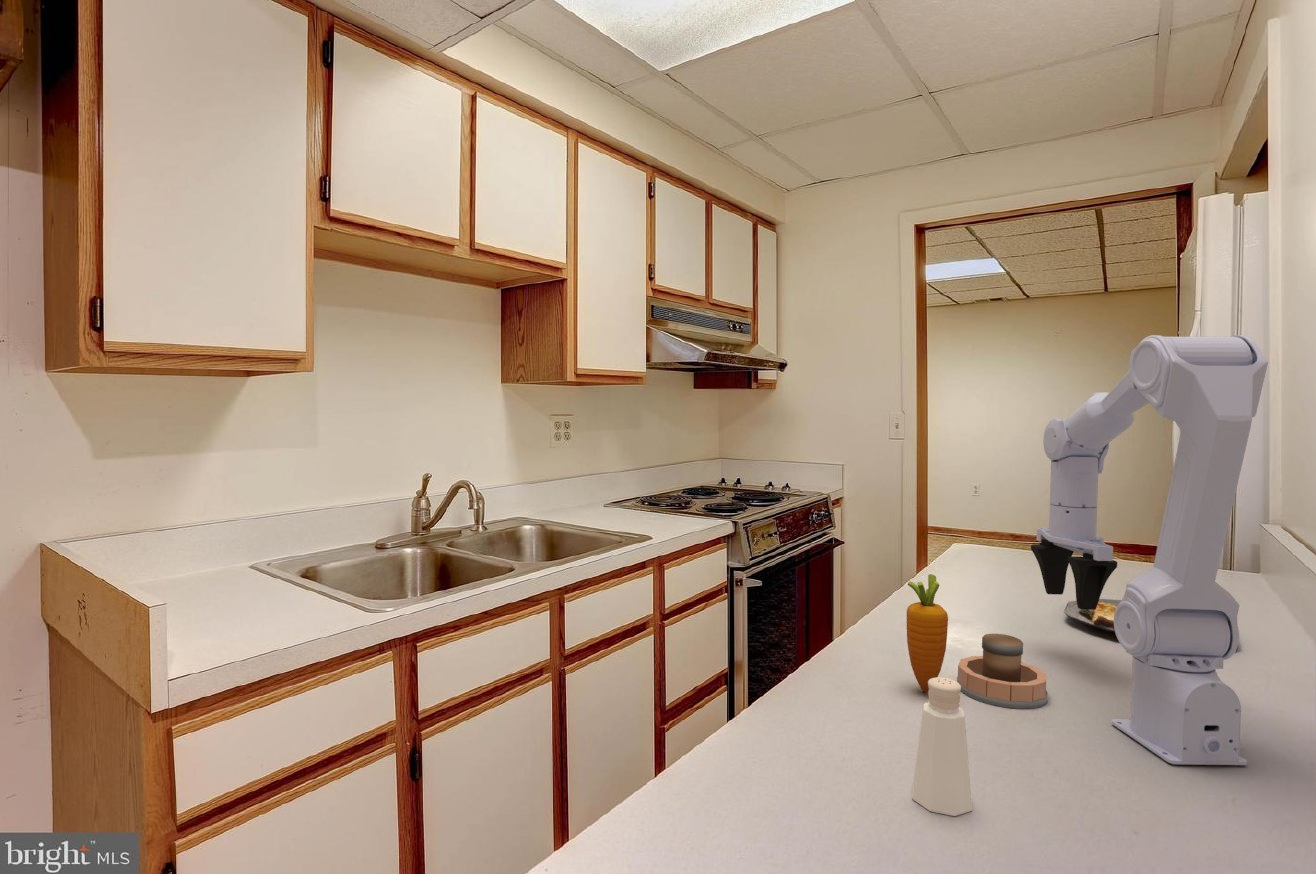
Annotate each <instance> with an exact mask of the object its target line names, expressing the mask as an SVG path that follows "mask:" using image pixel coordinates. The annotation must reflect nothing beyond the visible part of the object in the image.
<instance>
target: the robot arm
mask: <svg viewBox="0 0 1316 874" xmlns="http://www.w3.org/2000/svg"><path fill="white" fill-rule="evenodd" d="M1130 353H1131V354H1130V357H1129V361H1128V362H1129V363H1128V370H1127V372H1126V373H1125V374H1124V376H1123V377H1122V378H1121V379H1120V380H1119V381H1118V382H1117V384H1115V385H1114V387H1112V389H1111V390H1110V391H1109V392H1107V391H1106V392H1105V391H1104V392H1093V393H1092V394H1091V395H1090V396H1089V398H1087V400H1086V401H1085V402H1084V403H1083V404H1082V405H1081V406H1079V407H1078V408H1077V409H1076V410H1075V411H1074V412H1073V413H1072V414H1071V415H1069V417H1067V418H1065V419H1064V418H1062V419H1061V418H1051V419H1050V421H1049V422H1048V423H1047V424H1046V426H1045V428H1044V432H1043V437H1042V440H1043V444H1042V445H1043V450H1044V452H1045V456H1046V457H1047V458H1048V459H1049V460H1050V486H1049V489H1050V490H1049V517H1048V518H1049V519H1048V520H1049V521H1048V527H1037V528H1036V541H1038V542H1039V544H1031V545H1030V550H1031V552H1032V553H1033V555H1034V557H1035V558H1036V561H1037V563H1038V566H1039V569H1040V573H1041V577H1042V582H1043V586H1044V589H1045V593H1046V594H1047V595H1060V596H1061V595H1063V594H1064V591H1065V587H1066V580H1067V579H1066V577H1067V574H1068V573H1067V572H1068V567H1069V566H1070V568H1071V571H1072V575H1073V579H1074V586H1075V587H1074V588H1075V601H1077V606H1078V608H1079V609H1086V610H1095V609H1096V607H1097V604H1098V601H1099V599H1101V595H1102V593H1103V590H1104V588H1105V585H1106V583H1107V581H1108V580H1109V578H1110V577H1111V575H1112V574H1113V573H1114V571H1115V570H1116V569H1117V568H1118V561H1117V560H1114V559H1113V558H1114V546H1113V545H1110V544H1106V543H1105V542H1104V539H1105V538H1104V537H1102V536H1099V535H1097V523H1098V522H1097V521H1098V497H1099V496H1098V495H1099V493H1098V492H1099V475H1100V474H1102V473H1103V470H1104V462H1105V459H1106V456H1107V454H1108V451H1109V447H1110V443H1111V442H1112V441H1114V440H1115V439H1116V438H1117V437H1119V436H1120V435H1121V434H1123V433H1124V432H1126V431H1127V430H1128V429H1129V428H1130V427H1131V426H1132V425H1133V423H1134V420H1135V412H1137V411H1138V410H1141V408H1143V407H1145V406H1146V405H1148V404H1150V405H1151V406H1152V407H1153V409H1155V411H1157V413H1158V414H1159V415H1160V416H1161V417H1163V418H1166V419H1169V420H1171V421H1174V422H1175V424H1176V425H1177V427H1178V428H1179V430H1180V431H1179V432H1180V434H1179V441H1178V445H1177V450H1176V454H1175V459H1174V465H1173V469H1172V473H1171V474H1172V475H1171V479H1170V484H1169V488H1168V493H1167V499H1166V503H1165V508H1164V513H1163V518H1162V523H1161V528H1160V533H1159V538H1158V543H1157V547H1156V553H1155V556H1154V557H1155V558H1154V563H1153V567H1151V568H1150V569H1149V570H1147V571H1145V572H1143V573H1142V574H1140V575H1138V576H1137V577H1135V578H1133V579H1131V580H1130V581H1128V582H1127V583H1126V587H1125V589H1124V595H1123V597H1122V599H1120V600H1121V601H1120V603H1119V604H1118V606H1117V608H1116V610H1115V613H1114V629H1115V632H1114V633H1115V636H1116V639H1117V640H1118V642H1119V644H1120V645H1121V646H1122V648H1123V649H1124V650H1125V652H1126V653H1127V654H1129V655H1130V656H1132V661H1131V664H1132V665H1131V690H1130V692H1131V694H1130V717H1129V718H1130V719H1128V718H1127V719H1126V718H1123V719H1122V718H1119V719H1118V718H1113V719H1111V722H1110V723H1111V725H1113V726H1114V727H1116V728H1118V729H1119V730H1121V732H1123V733H1125V734H1126V735H1128V736H1129V737H1131V738H1132V739H1134V740H1135V741H1136V742H1138V743H1140V745H1142V746H1143V747H1145V748H1146V749H1148V750H1149V751H1151V752H1152V753H1154V754H1155V755H1156V756H1158V757H1160V758H1161V759H1162V760H1164V761H1165V762H1167V763H1169V764H1170V765H1171V764H1172V765H1190V766H1191V765H1193V766H1195V765H1197V766H1199V765H1200V766H1202V765H1203V766H1204V765H1205V766H1206V765H1207V766H1213V765H1214V766H1247V765H1248V759H1245V758H1244V757H1243V756H1241V755H1240V746H1241V745H1240V743H1241V718H1242V705H1241V702H1240V699H1239V697H1238V695H1237V693H1236V692H1235V690H1234V689H1232V688H1231V686H1228V685H1227V684H1226V683H1225V682H1223V681H1222V680H1221V678H1220V676H1219V675H1218V673H1217V670H1218V669H1219V670H1222V669H1224V661H1225V660H1228V659H1231V658H1232V657H1233V656H1234V654H1235V653H1236V651H1237V649H1238V647H1239V643H1240V630H1239V625H1238V616H1239V615H1238V614H1239V610H1240V604H1239V602H1238V601H1237V600H1236V598H1234V596H1233V594H1232V593H1230V592H1229V591H1227V589H1225V588H1224V587H1222V585H1220V584H1219V583H1217V581H1216V579H1217V576H1218V570H1219V566H1220V563H1221V562H1220V561H1221V557H1222V554H1223V549H1224V543H1225V541H1226V536H1227V532H1228V526H1229V522H1230V518H1231V514H1232V510H1233V506H1234V501H1235V497H1236V492H1237V488H1238V484H1239V480H1240V475H1241V471H1242V466H1243V462H1244V458H1245V453H1246V448H1247V446H1248V440H1249V436H1250V431H1251V429H1252V428H1251V427H1252V421H1253V418H1255V417H1256V416H1257V412H1258V408H1259V402H1260V400H1261V395H1262V390H1263V387H1264V382H1265V378H1266V373H1267V368H1268V364H1269V361H1268V360H1267V358H1266V357H1265V355H1264V354H1263V352H1262V351H1261V349H1260V348H1259V346H1258V344H1257V343H1256V342H1255V341H1254V340H1253V339H1252V338H1250V337H1249V336H1246V335H1242V334H1240V335H1239V334H1237V335H1231V336H1163V335H1160V334H1158V335H1156V334H1152V335H1149V336H1146V337H1143V339H1142V340H1141V341H1140V342H1139V343H1138V344H1137V346H1136V347H1135V348H1134V349H1132V350H1131V352H1130ZM1074 552H1075V553H1079V554H1080V555H1081V554H1082V556H1073V554H1074Z"/></svg>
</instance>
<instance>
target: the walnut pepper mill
mask: <svg viewBox="0 0 1316 874" xmlns="http://www.w3.org/2000/svg"><path fill="white" fill-rule="evenodd" d="M981 649H982V656H983V668H982V676H984V677H987V678H990V679H995V680H1001V681H1006V682H1020V681H1021V662H1022V655H1023V653H1024V642H1022V640H1021V639H1020V638H1018V637H1015V636H1013V635H1009V634H1005V633H1004V634H1003V633H986V634H984V635H983V636H982V637H981Z"/></svg>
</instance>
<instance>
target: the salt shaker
mask: <svg viewBox="0 0 1316 874" xmlns="http://www.w3.org/2000/svg"><path fill="white" fill-rule="evenodd" d="M928 687H929V691H928V692H927V693H928V702H925V703H923V705H922V712H921V719H920V727H919V735H918V741H917V750H916V758H915V765H914V772H913V779H912V780H913V781H912V788H911V789H912V790H911V791H912V795H911V796H912V801H914V802H916V803H917V804H919V805H920V806H921V807H922V808H925V809H926V810H928V811H929V812H932V813H936V814H941V815H946V816H951V817H957V816H961V815H963V814H967V813H970V812H972V810H973V804H972V792H971V791H972V789H971V778H970V777H971V776H970V766H969V751H968V739H967V726H966V716H965V711H964V709H963V708H961V707H960V703H959V702H961V695H960V693H961V686H960V684H959V683H958V682H957V680H953V679H951V678H948V677H942V676H938V677H936V678H931V679H930V680H929V681H928Z"/></svg>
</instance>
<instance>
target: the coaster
mask: <svg viewBox="0 0 1316 874" xmlns="http://www.w3.org/2000/svg"><path fill="white" fill-rule="evenodd" d="M982 668H983V655H974V656H973V655H972V656H968V657H964V658H961V659H960V660H959V662H958V665H957V677H956V682H958V683H959V684H960V686H961V691H960V693H962V694H963V695H965V696H968V697H969V698H971V699H972V700H973V699H974V700H976V701H979V702H981V703H985V704H988V705H992V706H995V707H996V706H997V707H1001V708H1009V709H1018V710H1028V709H1029V710H1030V709H1036V708H1041V707H1044V706H1045V705H1046V704H1047V703H1048V699H1049V698H1048V695H1049V694H1048V691H1047V674H1046V673H1045V672H1044V671H1042V670H1041V669H1039V668H1037V667H1036V666H1034V665H1032V664H1027V663H1025V662H1022V661H1021V681H1020V682H1006V681H1001V680H995V679H990V678H987V677H984V676H982Z"/></svg>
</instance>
